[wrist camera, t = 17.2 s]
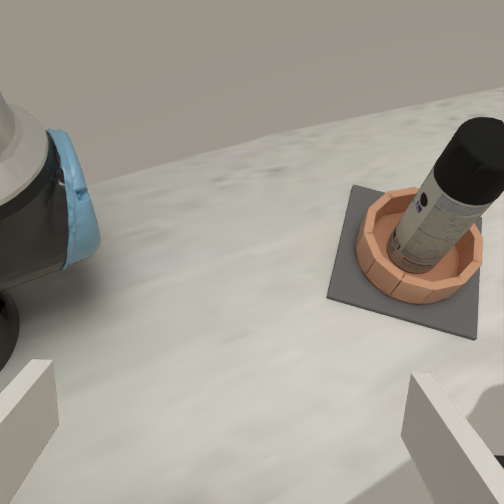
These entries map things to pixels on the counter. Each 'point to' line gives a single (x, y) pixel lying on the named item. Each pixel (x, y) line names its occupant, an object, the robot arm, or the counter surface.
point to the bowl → (401, 282)
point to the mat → (369, 297)
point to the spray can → (451, 196)
